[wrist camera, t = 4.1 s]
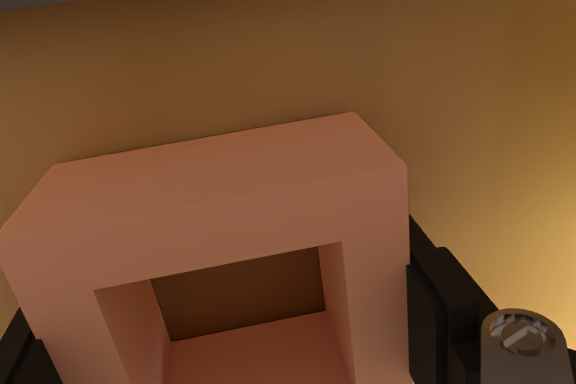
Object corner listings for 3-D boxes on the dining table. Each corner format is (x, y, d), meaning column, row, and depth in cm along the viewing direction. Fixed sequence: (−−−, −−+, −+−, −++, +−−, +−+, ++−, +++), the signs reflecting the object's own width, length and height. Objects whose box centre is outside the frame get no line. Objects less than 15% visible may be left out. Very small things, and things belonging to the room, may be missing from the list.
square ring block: (354, 111, 11) (407, 165, 8) (370, 334, 15) (414, 434, 11) (53, 164, 11) (-12, 243, 8) (138, 383, 14) (116, 501, 11)
